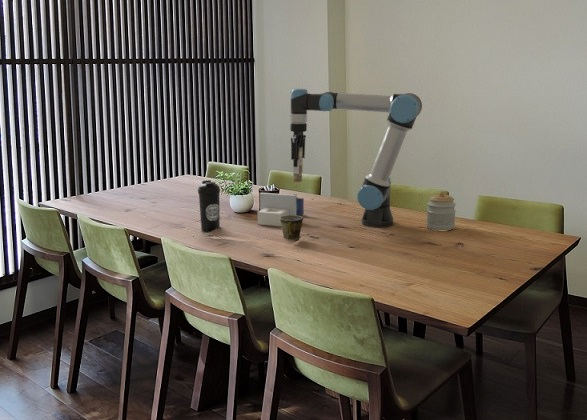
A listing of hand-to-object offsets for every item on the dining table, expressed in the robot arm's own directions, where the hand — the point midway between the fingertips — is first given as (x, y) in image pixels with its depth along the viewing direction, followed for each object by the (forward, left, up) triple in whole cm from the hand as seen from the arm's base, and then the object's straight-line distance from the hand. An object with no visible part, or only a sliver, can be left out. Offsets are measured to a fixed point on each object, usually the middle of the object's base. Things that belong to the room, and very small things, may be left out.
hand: (297, 172), depth 331 cm
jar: (-65, -15, -26) cm, 71 cm away
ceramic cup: (-7, +27, -26) cm, 38 cm away
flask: (+9, -20, -26) cm, 34 cm away
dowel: (0, 0, -4) cm, 4 cm away
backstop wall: (+11, +9, -25) cm, 29 cm away
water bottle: (+36, +21, -26) cm, 49 cm away
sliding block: (+11, +4, -24) cm, 27 cm away
